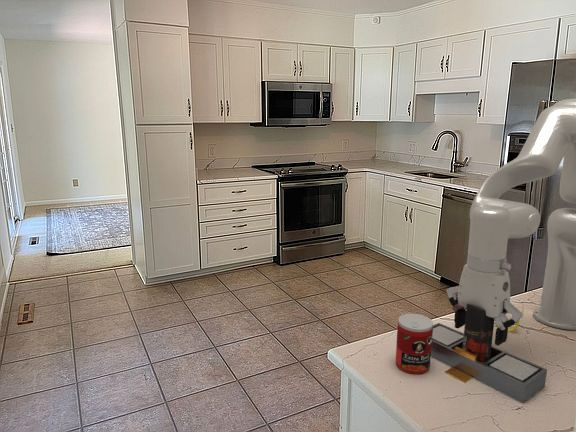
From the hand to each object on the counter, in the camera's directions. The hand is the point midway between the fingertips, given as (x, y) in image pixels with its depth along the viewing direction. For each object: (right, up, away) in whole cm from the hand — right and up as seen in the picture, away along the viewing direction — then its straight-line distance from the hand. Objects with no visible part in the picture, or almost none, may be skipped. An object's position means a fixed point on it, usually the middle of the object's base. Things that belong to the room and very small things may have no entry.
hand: (479, 334), depth 99 cm
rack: (-2, -8, +1) cm, 8 cm away
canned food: (-14, -8, +2) cm, 16 cm away
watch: (+15, -4, +19) cm, 24 cm away
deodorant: (0, -8, +2) cm, 8 cm away
